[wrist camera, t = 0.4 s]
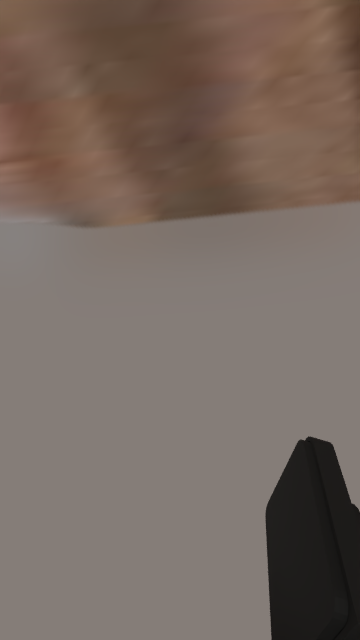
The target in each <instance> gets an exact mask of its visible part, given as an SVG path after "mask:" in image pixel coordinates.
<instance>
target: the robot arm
mask: <svg viewBox="0 0 360 640" xmlns="http://www.w3.org/2000/svg"><path fill="white" fill-rule="evenodd" d="M266 535H267V556H268V575H269V596H270V616H271V635H272V640H360V512H359V509H358V508H357V507H356V506H355V505H354V504H352V503H351V500H350V497H349V494H348V491H347V488H346V484H345V481H344V478H343V475H342V472H341V469H340V466H339V463H338V460H337V456H336V453H335V450H334V447H333V445H332V444H331V443H330V442H327V441H323V440H320V439H317V438H313V437H308V438H306V440H305V441H304V440H299V441H298V443H297V445H296V447H295V449H294V451H293V453H292V455H291V457H290V459H289V461H288V463H287V465H286V467H285V469H284V471H283V473H282V475H281V477H280V480H279V481H278V483H277V485H276V487H275V489H274V492H273V494H272V496H271V498H270V500H269V502H268V504H267V508H266Z"/></svg>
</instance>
